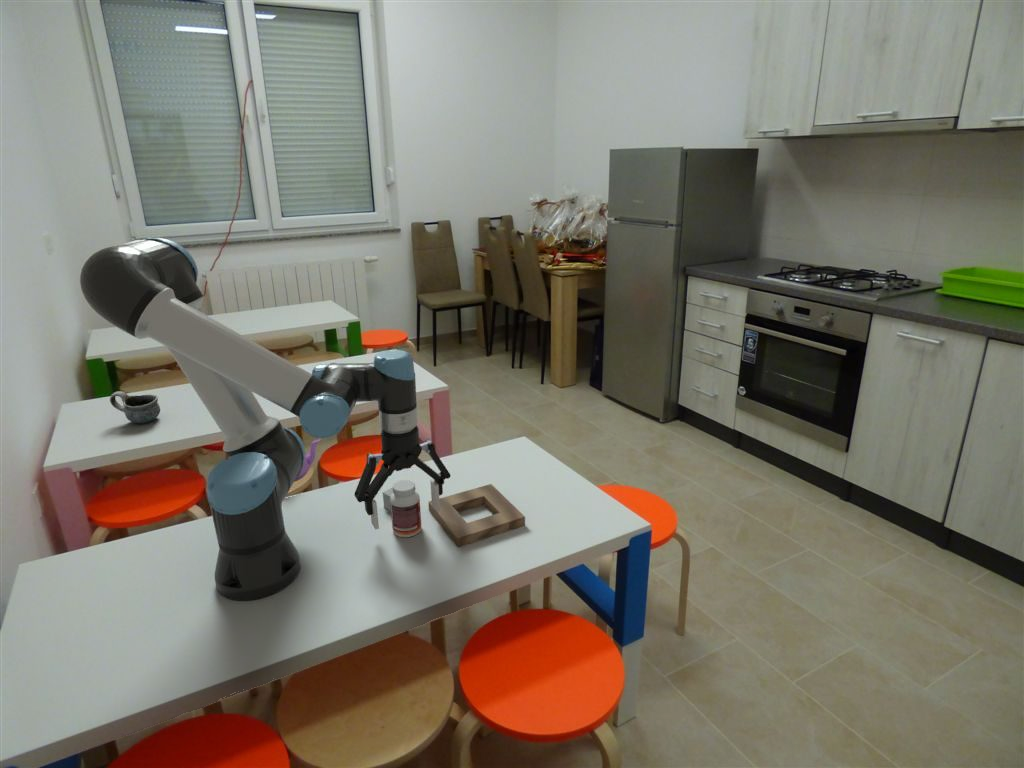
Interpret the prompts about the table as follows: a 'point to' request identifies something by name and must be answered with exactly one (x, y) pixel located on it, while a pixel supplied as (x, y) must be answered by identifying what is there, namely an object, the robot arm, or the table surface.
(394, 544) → the table surface
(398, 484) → the pill bottle
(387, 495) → the grey eraser block
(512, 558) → the table surface
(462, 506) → the socket board
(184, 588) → the table surface
